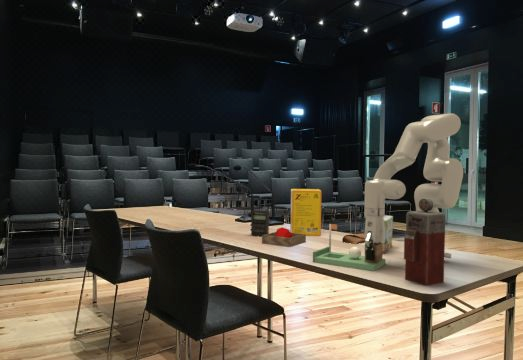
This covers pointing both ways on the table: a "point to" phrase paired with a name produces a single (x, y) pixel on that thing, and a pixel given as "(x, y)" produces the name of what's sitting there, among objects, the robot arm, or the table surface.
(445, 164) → the robot arm
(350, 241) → the sunglasses case
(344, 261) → the green
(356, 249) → the ball
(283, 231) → the gemstone
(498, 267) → the table surface
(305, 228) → the packaging box
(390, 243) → the snack box
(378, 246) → the block
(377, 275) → the table surface
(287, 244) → the display frame
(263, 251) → the table surface
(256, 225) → the geiger counter
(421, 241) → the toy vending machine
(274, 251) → the table surface
